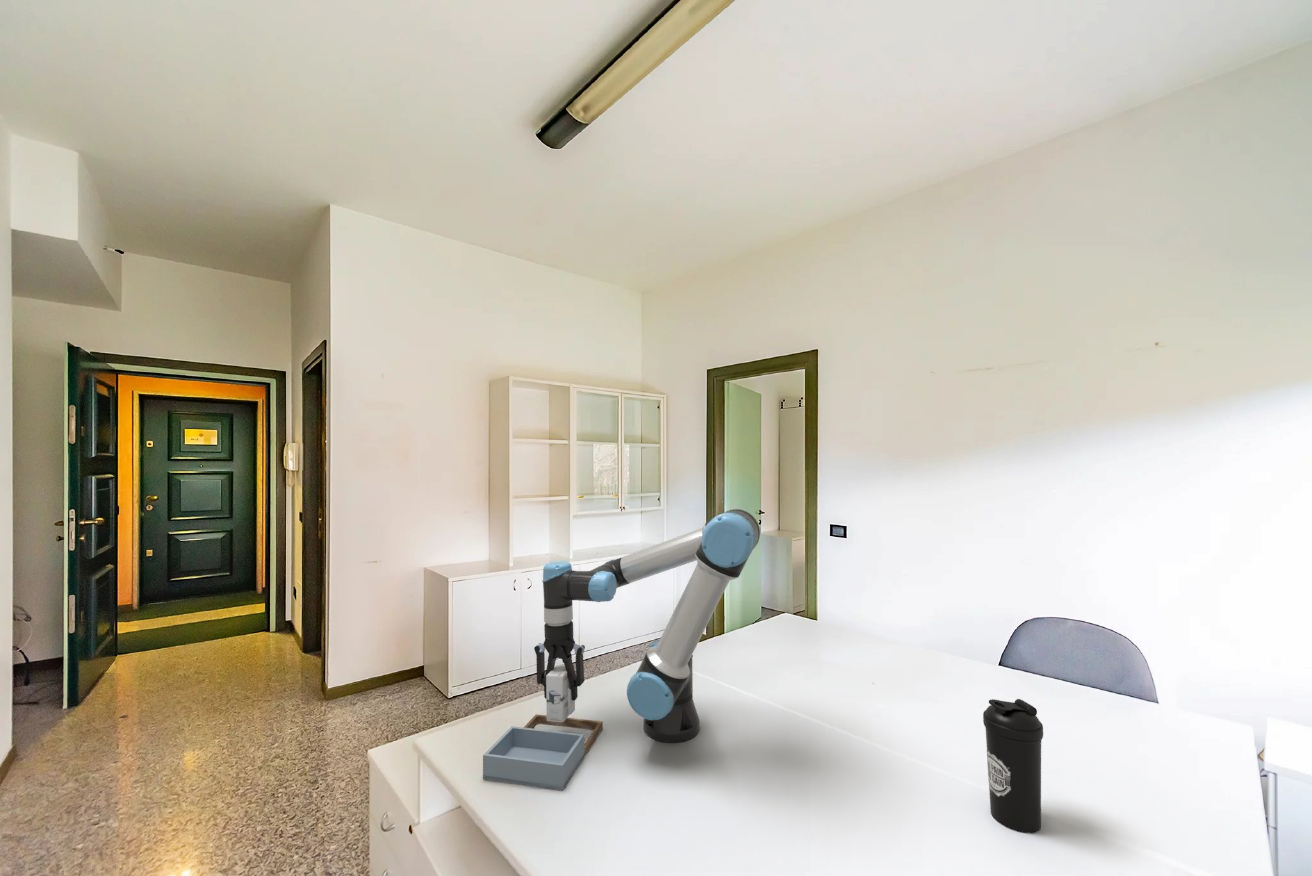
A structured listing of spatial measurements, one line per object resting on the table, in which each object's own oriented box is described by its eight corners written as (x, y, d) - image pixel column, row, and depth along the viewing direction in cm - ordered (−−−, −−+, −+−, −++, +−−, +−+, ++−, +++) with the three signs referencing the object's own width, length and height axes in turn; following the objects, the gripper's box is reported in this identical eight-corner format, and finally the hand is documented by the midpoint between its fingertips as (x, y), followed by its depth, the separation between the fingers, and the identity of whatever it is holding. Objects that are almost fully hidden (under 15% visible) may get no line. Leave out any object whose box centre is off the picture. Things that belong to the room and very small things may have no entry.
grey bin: (584, 757, 132) (584, 734, 133) (562, 790, 119) (562, 765, 119) (511, 748, 137) (511, 726, 137) (482, 779, 123) (482, 755, 124)
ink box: (559, 706, 146) (557, 662, 147) (576, 707, 145) (574, 663, 146) (546, 722, 138) (544, 675, 138) (564, 723, 137) (562, 676, 137)
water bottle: (974, 804, 113) (971, 693, 114) (1020, 801, 114) (1016, 691, 115) (1010, 838, 103) (1006, 716, 104) (1059, 834, 104) (1055, 713, 105)
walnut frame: (602, 728, 146) (602, 721, 146) (585, 756, 133) (585, 748, 133) (535, 721, 150) (535, 714, 150) (512, 747, 137) (512, 739, 137)
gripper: (595, 618, 144) (598, 707, 143) (533, 616, 148) (536, 702, 147) (585, 627, 137) (589, 720, 136) (520, 625, 141) (523, 715, 140)
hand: (561, 711), depth 142 cm, fingers closed on ink box, 5 cm apart
